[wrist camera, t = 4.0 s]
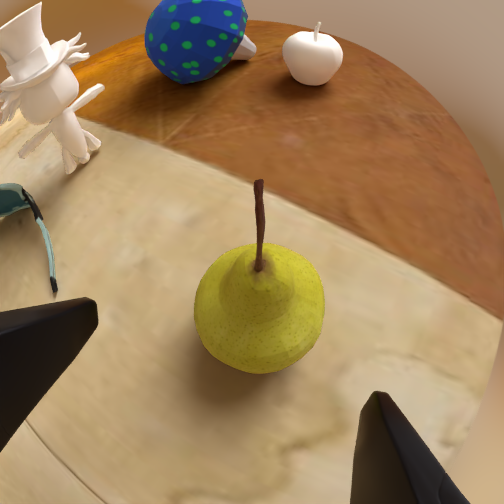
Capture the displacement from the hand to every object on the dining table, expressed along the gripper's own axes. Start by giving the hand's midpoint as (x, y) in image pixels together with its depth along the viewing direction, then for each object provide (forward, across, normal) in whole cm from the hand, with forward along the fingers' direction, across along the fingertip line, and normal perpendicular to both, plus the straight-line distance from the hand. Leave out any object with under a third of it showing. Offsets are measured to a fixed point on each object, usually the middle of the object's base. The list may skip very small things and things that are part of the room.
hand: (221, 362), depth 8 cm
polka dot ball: (+30, +16, -15) cm, 37 cm away
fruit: (+10, 0, +5) cm, 11 cm away
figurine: (+17, +22, -2) cm, 28 cm away
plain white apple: (+31, +2, -16) cm, 35 cm away
